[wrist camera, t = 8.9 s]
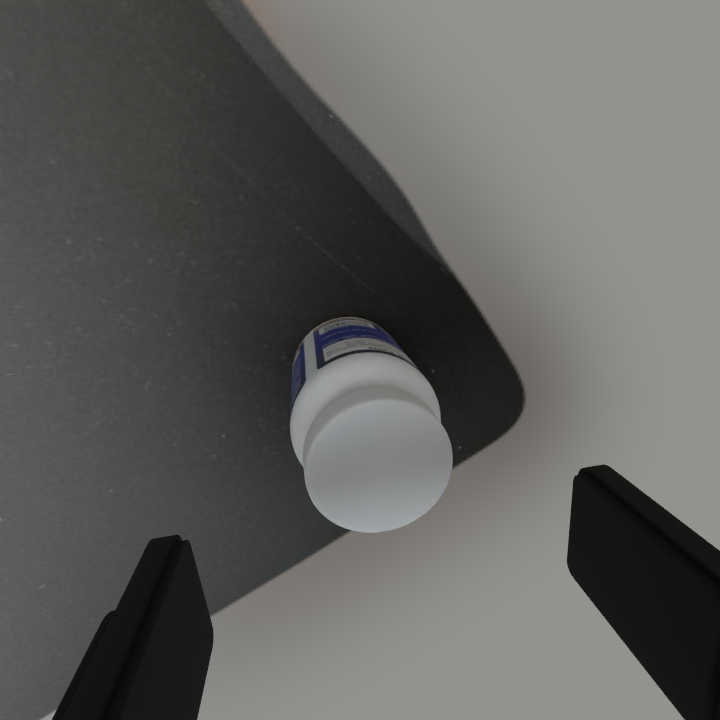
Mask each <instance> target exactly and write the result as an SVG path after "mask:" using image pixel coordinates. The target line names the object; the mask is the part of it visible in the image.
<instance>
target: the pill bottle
mask: <svg viewBox="0 0 720 720" xmlns="http://www.w3.org/2000/svg"><path fill="white" fill-rule="evenodd" d="M290 434H291V440H292V445H293V448H294V451H295V454H296V456H297V458H298V460H299V462H300V463H301V465H302V466H303V467H304V477H305V484H306V488H307V491H308V493H309V496H310V498H311V500H312V502H313V503H314V505H315V506H316V508H317V509H318V510H319V511H320V512H321V513H322V514H323V515H324V516H325V517H326V518H327V519H329V520H330V521H332V522H333V523H335V524H337V525H339V526H341V527H344V528H346V529H349V530H353V531H358V532H368V533H373V532H374V533H375V532H384V531H389V530H394V529H397V528H400V527H402V526H405V525H407V524H409V523H411V522H413V521H414V520H416V519H418V518H419V517H420V516H422V515H424V514H425V513H426V512H427V511H428V510H429V509H430V508H431V507H432V506H433V505H435V503H436V502H437V501H438V500H439V498H440V497H441V495H442V494H443V492H444V490H445V488H446V486H447V483H448V481H449V478H450V475H451V471H452V463H453V456H452V447H451V443H450V440H449V437H448V435H447V433H446V431H445V429H444V427H443V426H442V424H441V416H440V408H439V404H438V400H437V397H436V395H435V392H434V390H433V389H432V387H431V385H430V383H429V382H428V381H427V379H426V378H425V376H424V375H423V374H422V373H421V372H420V370H419V369H418V368H417V367H416V366H415V365H414V364H413V362H412V361H411V360H410V359H409V358H408V356H407V355H406V354H405V353H404V352H403V350H402V349H401V348H400V347H399V345H398V344H397V343H396V342H395V341H394V339H393V338H392V337H391V336H390V335H389V334H388V333H387V332H386V331H385V330H384V329H383V328H381V327H380V326H378V325H377V324H375V323H373V322H371V321H368V320H366V319H362V318H357V317H341V318H336V319H332V320H329V321H326V322H324V323H322V324H320V325H319V326H317V327H316V328H314V329H313V330H312V331H311V332H309V333H308V334H307V336H306V337H305V338H304V339H303V340H302V342H301V344H300V345H299V347H298V349H297V351H296V354H295V357H294V361H293V366H292V382H291V405H290Z"/></svg>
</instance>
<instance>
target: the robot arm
mask: <svg viewBox="0 0 720 720" xmlns="http://www.w3.org/2000/svg"><path fill="white" fill-rule="evenodd" d="M568 543H569V544H568V555H567V564H568V568H569V571H570V573H571V575H572V576H573V578H574V579H575V580H576V582H577V583H578V584H579V586H580V587H581V588H582V589H583V591H584V592H585V593H586V594H587V596H588V597H589V598H590V600H591V601H592V602H593V603H594V605H595V606H596V607H597V608H598V610H599V611H600V612H601V614H602V615H603V616H604V617H605V619H606V620H607V621H608V622H609V624H610V625H611V626H612V628H613V629H614V630H615V631H616V633H617V634H618V635H619V637H620V638H621V639H622V640H623V642H624V643H625V644H626V645H627V647H628V648H629V649H630V651H631V652H632V653H633V654H634V656H635V657H636V658H637V659H638V661H639V662H640V663H641V665H642V666H643V667H644V668H645V670H646V671H647V672H648V674H649V675H650V676H651V677H652V679H653V680H654V681H655V682H656V684H657V685H658V686H659V688H660V689H661V690H662V691H663V692H664V694H665V695H666V696H667V698H668V699H669V700H670V701H671V703H672V704H673V705H674V707H675V708H676V709H677V710H678V712H679V713H680V714H681V716H682V717H683V718H684V719H685V720H720V551H719V550H718V549H716V548H715V547H714V546H712V545H711V544H710V543H709V542H707V541H706V540H705V539H703V538H702V537H701V536H699V535H698V534H697V533H695V532H694V531H693V530H692V529H690V528H689V527H688V526H686V525H685V524H684V523H682V522H681V521H680V520H679V519H677V518H676V517H675V516H673V515H672V514H671V513H669V512H668V511H667V510H665V509H664V508H663V507H662V506H660V505H659V504H658V503H656V502H655V501H654V500H652V499H651V498H650V497H648V496H647V495H646V494H644V493H643V492H642V491H641V490H639V489H638V488H637V487H635V486H634V485H633V484H632V483H630V482H629V481H628V480H626V479H625V478H624V477H622V476H621V475H620V474H618V473H617V472H616V471H615V470H613V469H612V468H611V467H609V466H607V465H599V466H592V467H586V468H582V469H580V471H579V473H578V475H577V476H575V477H574V480H573V491H572V504H571V518H570V529H569V542H568ZM212 646H213V627H212V623H211V619H210V615H209V612H208V608H207V604H206V600H205V597H204V593H203V589H202V586H201V582H200V578H199V574H198V571H197V567H196V563H195V559H194V556H193V552H192V548H191V545H190V542H189V541H188V540H184V541H182V539H181V537H180V536H179V535H173V536H167V537H161V538H155V539H152V540H150V541H149V543H148V545H147V547H146V549H145V551H144V553H143V555H142V557H141V559H140V561H139V563H138V565H137V567H136V569H135V571H134V573H133V575H132V577H131V580H130V582H129V584H128V586H127V588H126V590H125V592H124V594H123V596H122V598H121V600H120V602H119V604H118V606H117V608H116V610H115V611H111V612H110V613H108V614H107V615H106V616H105V618H104V619H103V621H102V622H101V624H100V626H99V628H98V630H97V632H96V634H95V636H94V638H93V640H92V642H91V644H90V646H89V648H88V650H87V652H86V654H85V656H84V658H83V660H82V662H81V664H80V665H79V667H78V669H77V671H76V673H75V675H74V677H73V679H72V681H71V683H70V685H69V687H68V689H67V691H66V693H65V695H64V697H63V699H62V701H61V703H60V705H59V707H58V709H57V711H56V713H55V715H54V717H53V719H52V720H197V717H198V713H199V708H200V703H201V698H202V694H203V689H204V685H205V680H206V675H207V670H208V666H209V661H210V656H211V652H212Z"/></svg>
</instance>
